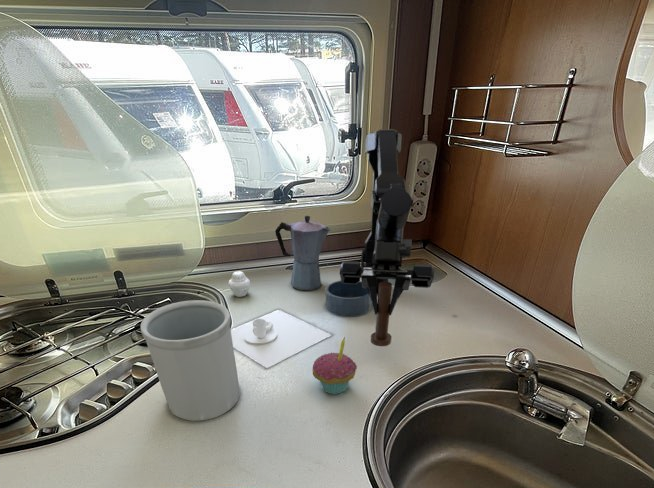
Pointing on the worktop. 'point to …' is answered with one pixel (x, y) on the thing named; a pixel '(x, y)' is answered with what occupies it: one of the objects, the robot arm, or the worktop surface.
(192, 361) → the utensil holder
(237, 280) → the white lidded jar
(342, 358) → the cupcake
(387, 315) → the brown flanged peg
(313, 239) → the moka pot
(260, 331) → the teacup and saucer
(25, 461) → the worktop surface
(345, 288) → the bowl
